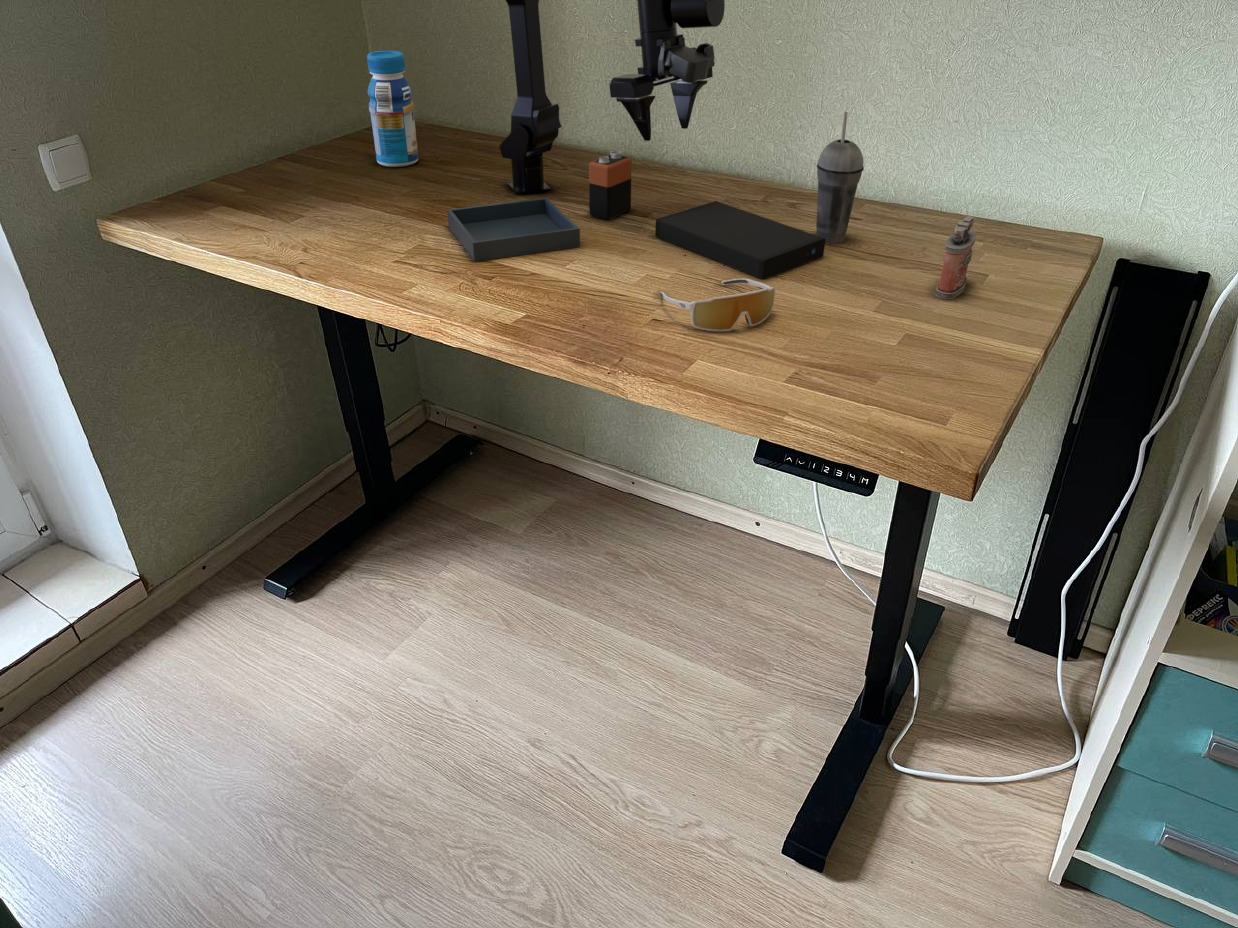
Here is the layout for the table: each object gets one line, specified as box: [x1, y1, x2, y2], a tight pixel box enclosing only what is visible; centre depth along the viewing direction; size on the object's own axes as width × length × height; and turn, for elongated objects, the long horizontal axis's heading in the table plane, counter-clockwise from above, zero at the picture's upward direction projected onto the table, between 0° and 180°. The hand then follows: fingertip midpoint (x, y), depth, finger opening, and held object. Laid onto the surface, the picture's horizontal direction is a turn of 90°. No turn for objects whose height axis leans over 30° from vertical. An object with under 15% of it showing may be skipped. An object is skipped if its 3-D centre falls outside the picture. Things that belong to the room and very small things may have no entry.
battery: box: [588, 150, 633, 221], centre depth 162 cm, size 4×7×10 cm, turn 144°
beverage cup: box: [815, 111, 865, 244], centre depth 150 cm, size 7×7×20 cm
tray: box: [446, 197, 581, 262], centre depth 154 cm, size 16×17×3 cm
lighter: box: [935, 215, 977, 300], centre depth 136 cm, size 8×3×10 cm, turn 148°
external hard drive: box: [654, 200, 826, 280], centre depth 151 cm, size 14×23×3 cm, turn 41°
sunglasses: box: [659, 278, 776, 332], centre depth 131 cm, size 14×15×5 cm
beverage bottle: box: [366, 50, 419, 168], centre depth 183 cm, size 8×8×20 cm
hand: (666, 134), depth 155 cm, fingers open, 9 cm apart
